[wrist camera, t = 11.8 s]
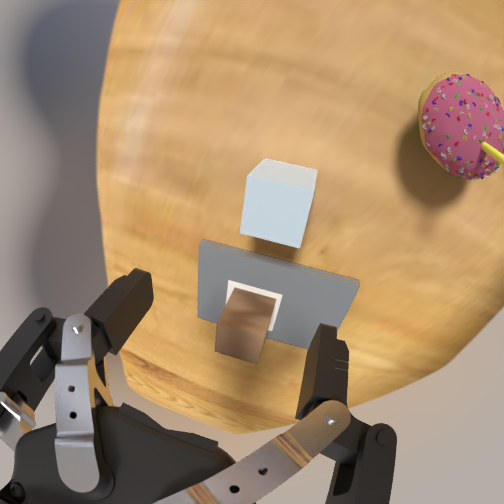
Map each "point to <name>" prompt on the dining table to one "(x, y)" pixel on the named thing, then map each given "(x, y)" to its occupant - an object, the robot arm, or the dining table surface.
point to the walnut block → (244, 325)
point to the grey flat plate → (273, 291)
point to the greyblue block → (278, 202)
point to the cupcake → (462, 125)
